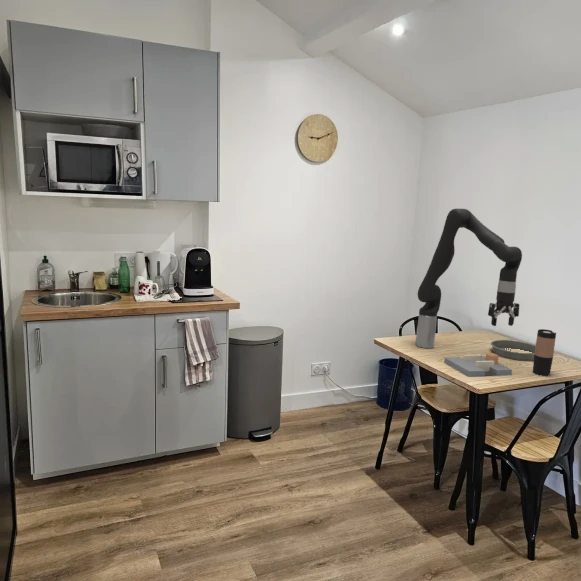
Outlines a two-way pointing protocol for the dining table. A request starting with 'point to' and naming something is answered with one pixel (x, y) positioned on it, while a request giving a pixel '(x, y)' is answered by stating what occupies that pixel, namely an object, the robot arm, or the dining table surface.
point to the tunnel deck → (477, 366)
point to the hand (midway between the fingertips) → (502, 325)
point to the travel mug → (544, 352)
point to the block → (492, 357)
